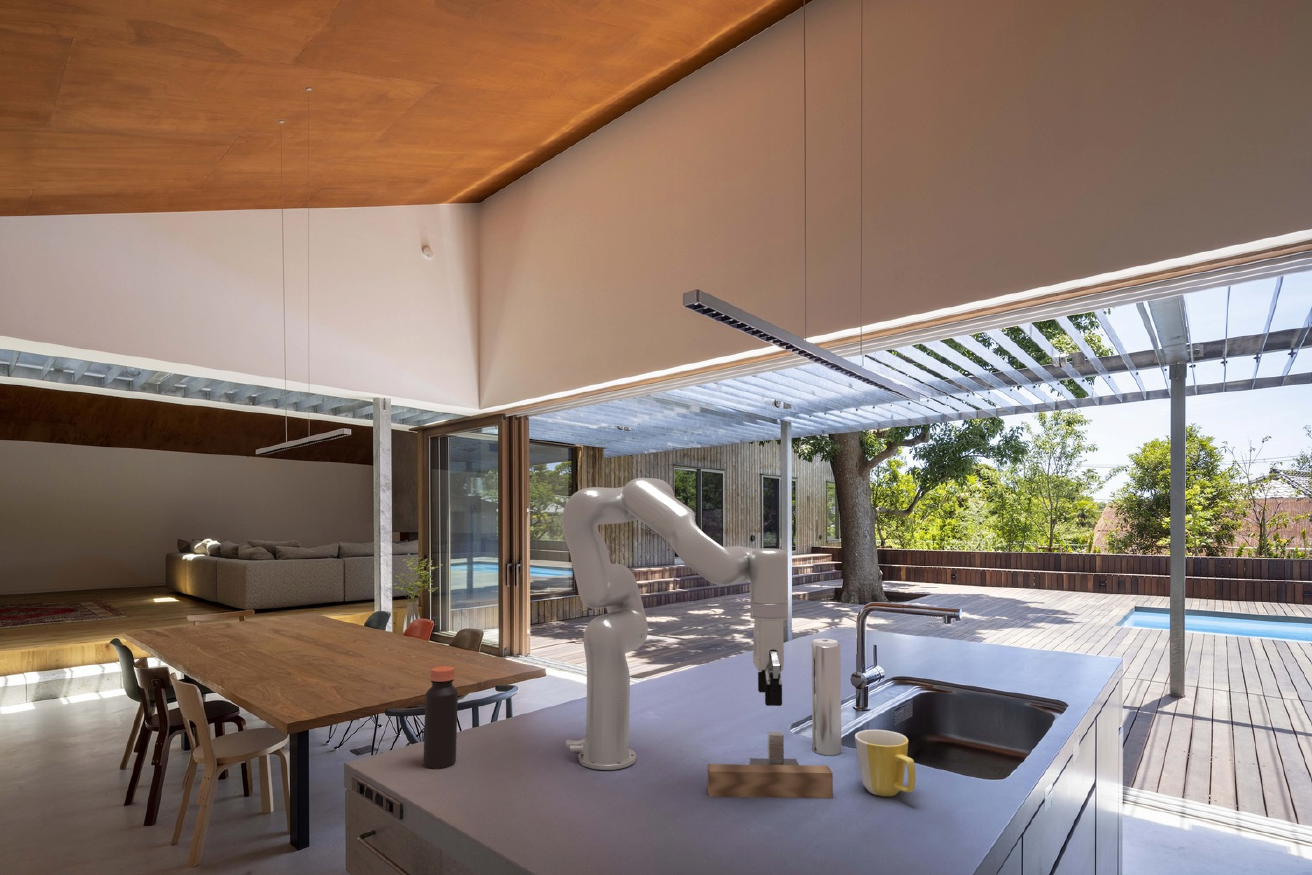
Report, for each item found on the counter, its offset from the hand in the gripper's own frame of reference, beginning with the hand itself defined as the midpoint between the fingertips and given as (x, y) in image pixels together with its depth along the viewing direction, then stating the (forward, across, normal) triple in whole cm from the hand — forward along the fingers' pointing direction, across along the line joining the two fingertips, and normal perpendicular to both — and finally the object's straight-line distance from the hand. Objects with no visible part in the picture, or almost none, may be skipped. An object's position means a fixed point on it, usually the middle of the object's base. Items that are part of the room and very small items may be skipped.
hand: (769, 698), depth 146 cm
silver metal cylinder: (+18, -25, +17) cm, 35 cm away
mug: (+18, 0, +23) cm, 29 cm away
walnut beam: (+18, 0, 0) cm, 18 cm away
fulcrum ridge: (+18, -11, +3) cm, 21 cm away
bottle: (+18, -14, -69) cm, 73 cm away
